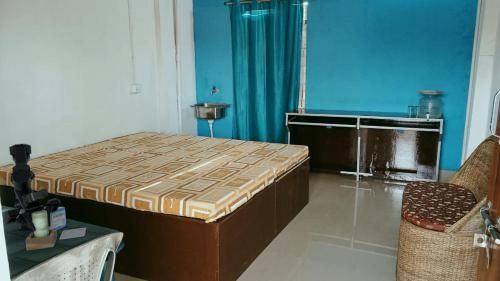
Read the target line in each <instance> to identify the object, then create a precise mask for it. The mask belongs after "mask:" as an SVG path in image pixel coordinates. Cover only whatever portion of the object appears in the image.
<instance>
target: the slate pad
mask: <svg viewBox="0 0 500 281" xmlns="http://www.w3.org/2000/svg"><path fill="white" fill-rule="evenodd" d="M86 231H87V227H81V228H80V227H79V228H72V229H65V230H62V232H61V234H60V235H59V236H60V237H59V240H66V239H73V238H74V239H75V238H80V237H85V235H86V233H87V232H86Z"/></svg>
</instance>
